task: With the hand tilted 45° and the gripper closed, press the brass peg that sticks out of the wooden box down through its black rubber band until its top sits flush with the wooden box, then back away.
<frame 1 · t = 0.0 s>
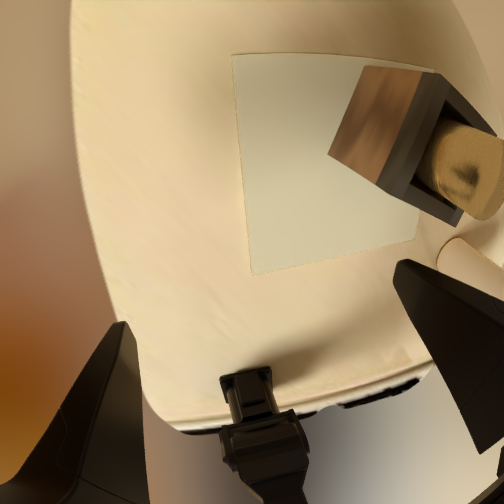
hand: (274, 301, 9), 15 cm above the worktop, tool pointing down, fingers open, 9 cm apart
mat: (349, 163, 23), on the worktop
wooden box: (380, 128, 22), resting on mat
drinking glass: (447, 252, 34), on the worktop
peg: (450, 158, 16), point 8 cm above the worktop, slide at 3.5 cm
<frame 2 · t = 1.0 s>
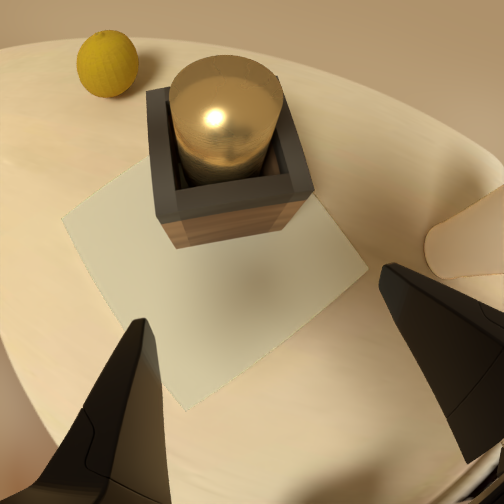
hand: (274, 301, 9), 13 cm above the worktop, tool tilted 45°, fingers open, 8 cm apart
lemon: (117, 92, 25), on the worktop
mat: (210, 244, 23), on the worktop
wooden box: (219, 191, 24), resting on mat
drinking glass: (440, 253, 25), on the worktop
peg: (223, 135, 15), point 8 cm above the worktop, slide at 3.5 cm
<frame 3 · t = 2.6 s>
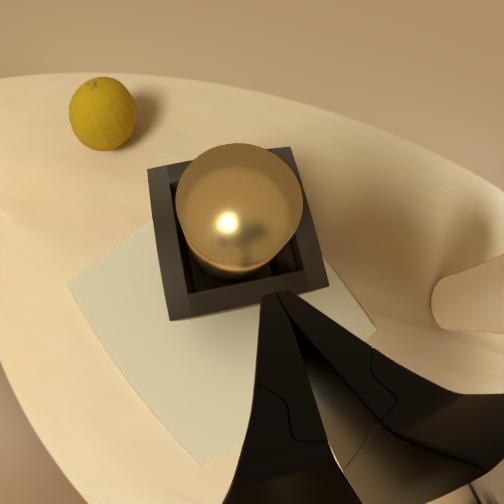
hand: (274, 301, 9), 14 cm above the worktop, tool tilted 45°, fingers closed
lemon: (116, 141, 25), on the worktop
mat: (220, 313, 22), on the worktop
wooden box: (228, 258, 23), resting on mat
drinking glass: (446, 303, 25), on the worktop
peg: (234, 226, 15), point 8 cm above the worktop, slide at 3.5 cm
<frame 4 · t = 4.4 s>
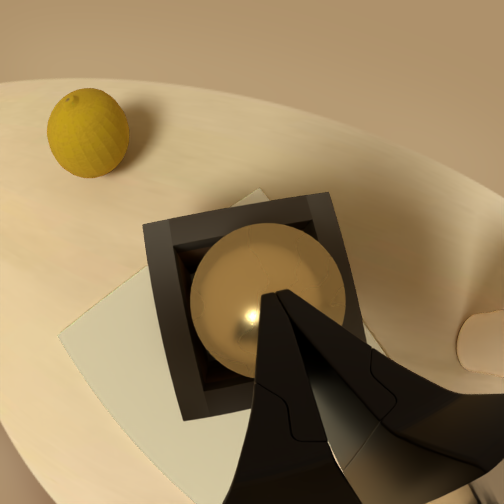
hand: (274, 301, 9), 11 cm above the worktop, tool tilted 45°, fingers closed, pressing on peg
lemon: (106, 163, 21), on the worktop
mat: (234, 371, 19), on the worktop
wooden box: (242, 308, 20), resting on mat
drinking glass: (470, 342, 22), on the worktop
peg: (256, 305, 13), point 7 cm above the worktop, slide at 2.3 cm, touching gripper
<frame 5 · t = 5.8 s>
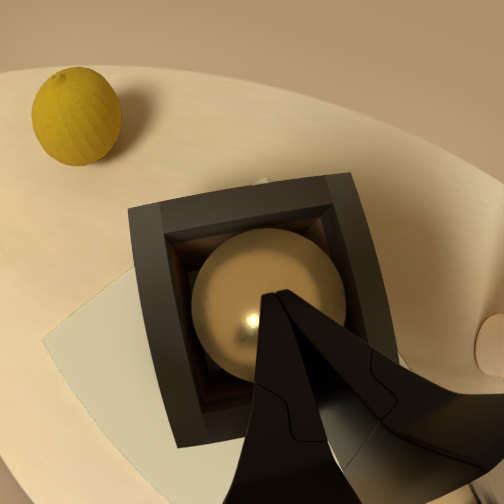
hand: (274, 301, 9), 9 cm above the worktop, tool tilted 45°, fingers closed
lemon: (97, 151, 19), on the worktop
mat: (237, 382, 17), on the worktop
wooden box: (246, 311, 18), resting on mat
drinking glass: (488, 345, 19), on the worktop
peg: (256, 309, 13), point 5 cm above the worktop, slide at -0.1 cm
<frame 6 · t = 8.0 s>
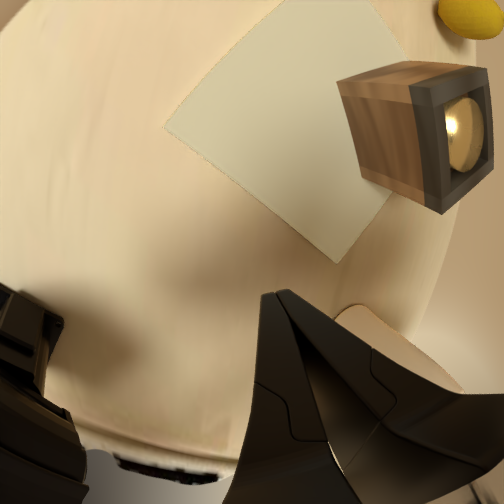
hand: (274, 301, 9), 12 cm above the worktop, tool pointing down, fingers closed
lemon: (436, 13, 18), on the worktop
mat: (342, 113, 20), on the worktop
wooden box: (382, 115, 21), resting on mat
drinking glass: (345, 321, 31), on the worktop
peg: (426, 124, 17), point 5 cm above the worktop, slide at -0.1 cm
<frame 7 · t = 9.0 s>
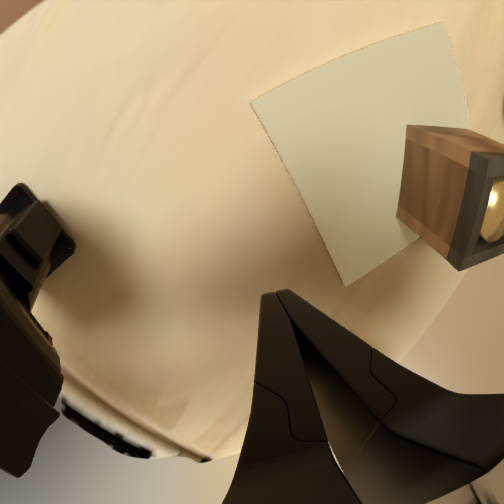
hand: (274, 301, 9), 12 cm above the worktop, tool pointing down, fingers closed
mat: (401, 154, 21), on the worktop
wooden box: (431, 168, 22), resting on mat
peg: (468, 190, 19), point 5 cm above the worktop, slide at -0.1 cm
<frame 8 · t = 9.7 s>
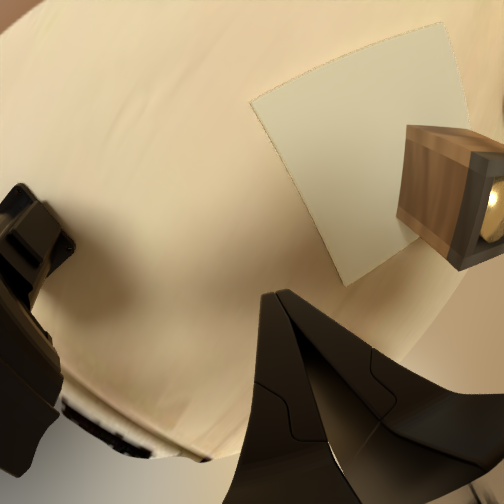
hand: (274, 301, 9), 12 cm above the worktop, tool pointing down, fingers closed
mat: (401, 154, 21), on the worktop
wooden box: (431, 168, 22), resting on mat
peg: (468, 190, 19), point 5 cm above the worktop, slide at -0.1 cm
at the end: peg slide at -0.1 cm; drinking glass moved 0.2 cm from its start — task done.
